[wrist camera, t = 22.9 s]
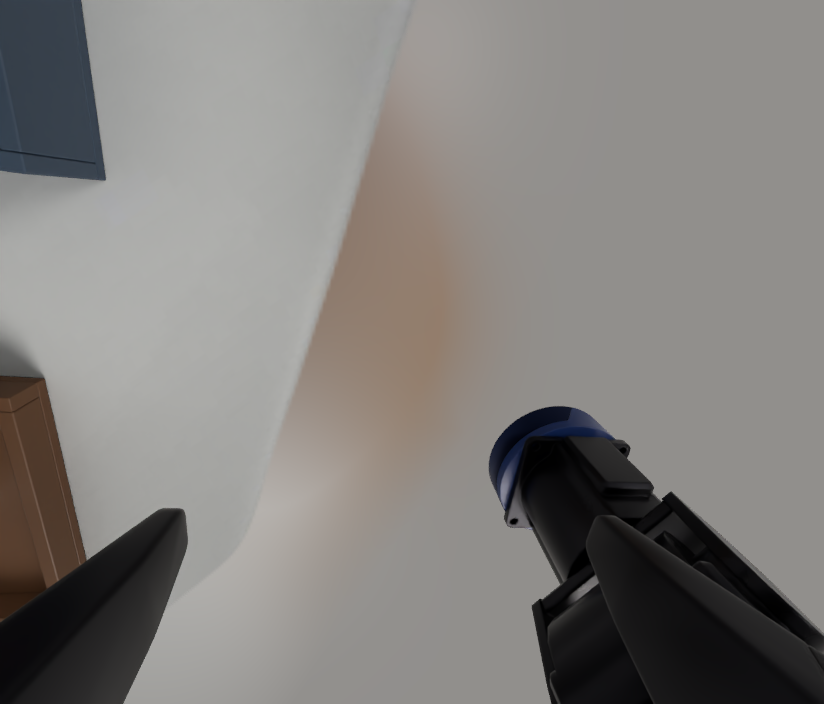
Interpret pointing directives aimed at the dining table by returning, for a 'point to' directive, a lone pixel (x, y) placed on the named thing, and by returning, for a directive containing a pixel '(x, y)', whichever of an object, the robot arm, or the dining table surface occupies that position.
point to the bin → (47, 91)
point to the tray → (32, 497)
